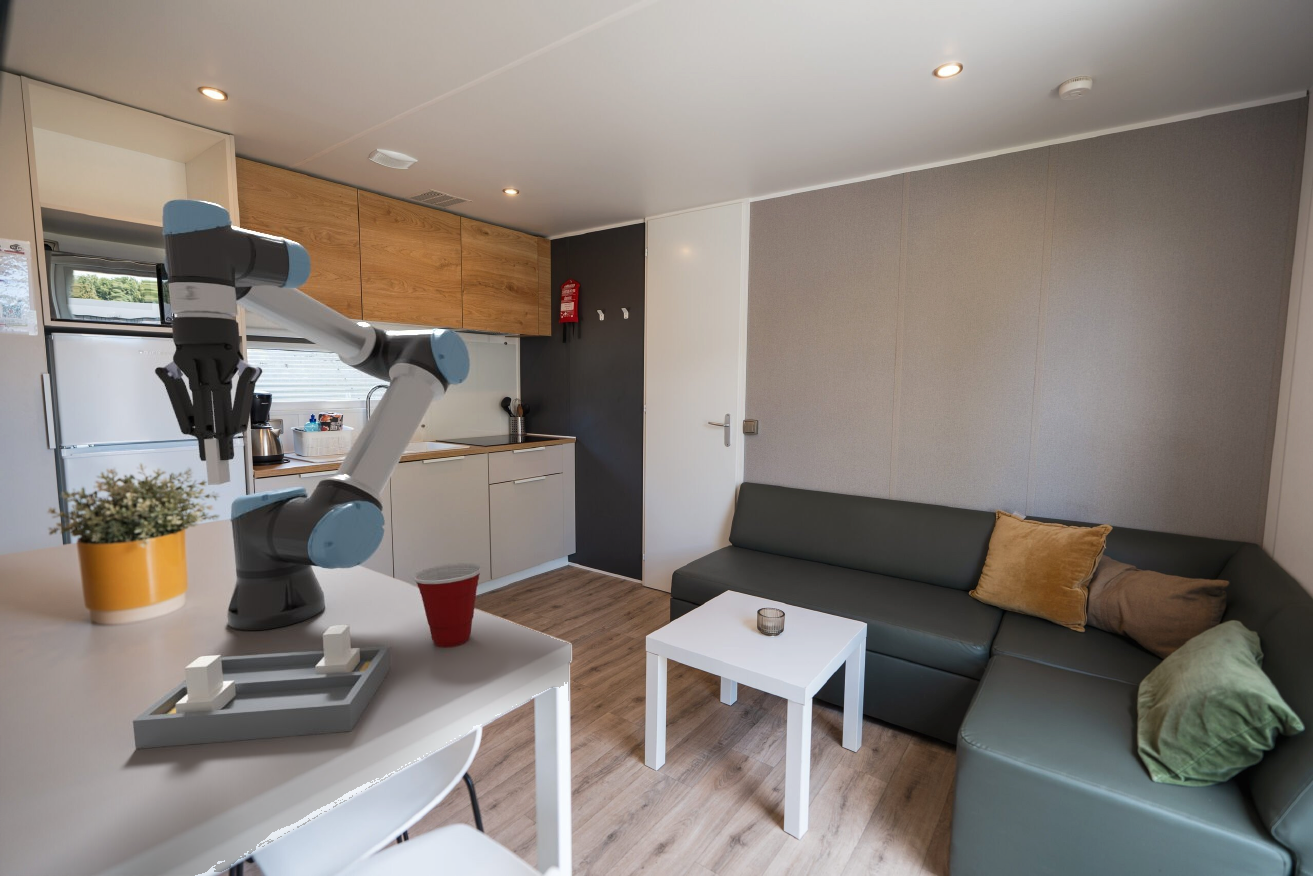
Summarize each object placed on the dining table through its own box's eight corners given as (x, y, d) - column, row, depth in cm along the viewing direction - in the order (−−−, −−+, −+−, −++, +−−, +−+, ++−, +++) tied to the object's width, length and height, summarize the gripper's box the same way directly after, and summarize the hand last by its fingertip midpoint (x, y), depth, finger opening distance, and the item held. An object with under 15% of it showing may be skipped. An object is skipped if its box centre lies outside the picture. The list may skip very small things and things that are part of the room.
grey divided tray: (216, 680, 86) (213, 657, 86) (390, 668, 89) (389, 646, 89) (135, 749, 70) (132, 720, 70) (351, 731, 74) (349, 704, 73)
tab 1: (202, 697, 77) (198, 653, 77) (235, 695, 78) (232, 651, 77) (176, 719, 72) (172, 672, 72) (212, 716, 73) (208, 669, 72)
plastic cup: (467, 620, 107) (465, 555, 105) (496, 640, 99) (494, 569, 98) (405, 638, 99) (402, 569, 98) (431, 661, 92) (428, 585, 90)
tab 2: (331, 663, 86) (328, 623, 86) (360, 661, 87) (357, 621, 86) (316, 680, 81) (313, 638, 81) (347, 678, 82) (344, 636, 81)
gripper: (134, 314, 79) (151, 489, 82) (240, 315, 81) (254, 486, 83) (172, 319, 87) (186, 480, 89) (268, 320, 88) (280, 477, 91)
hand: (219, 482), depth 86 cm, fingers closed
